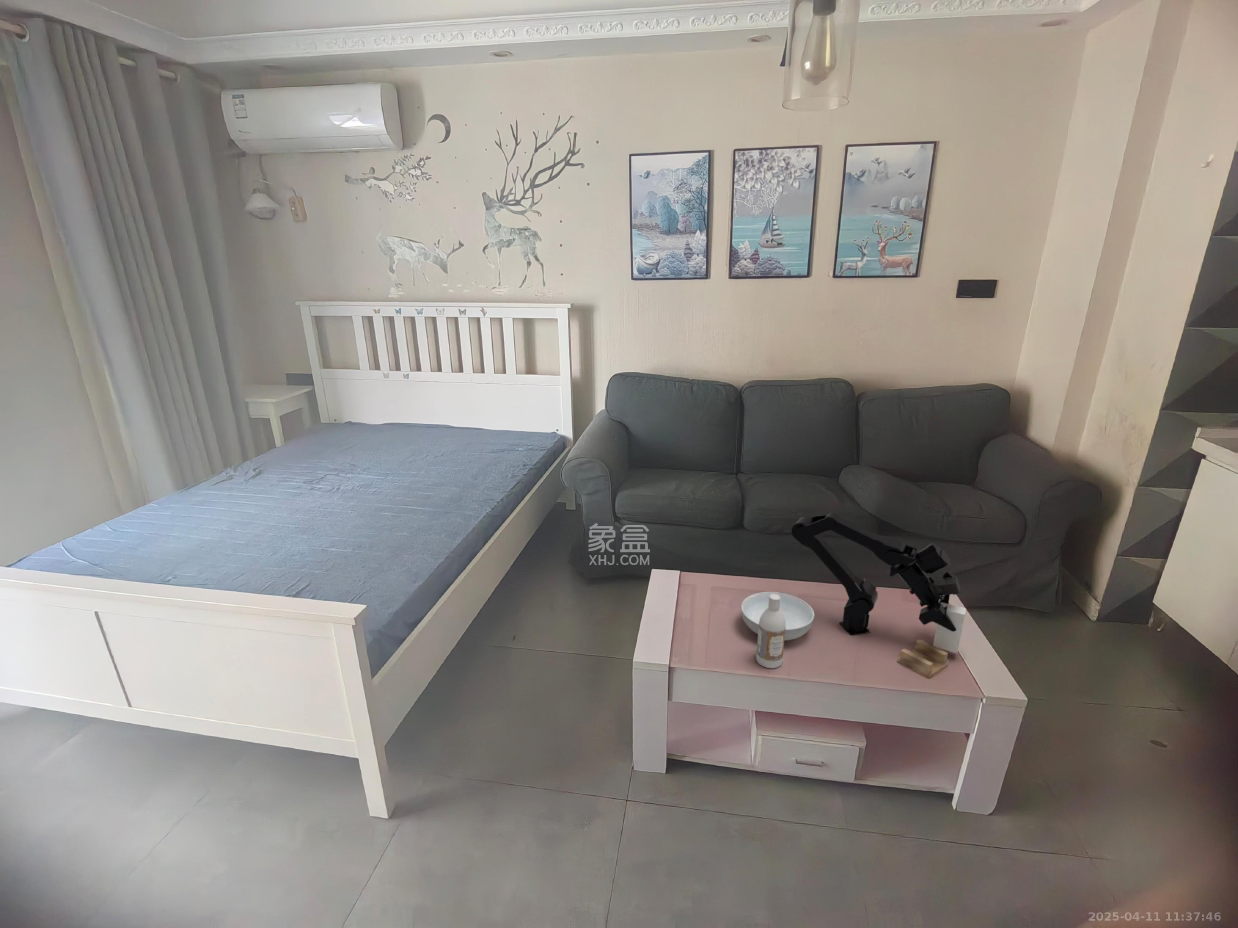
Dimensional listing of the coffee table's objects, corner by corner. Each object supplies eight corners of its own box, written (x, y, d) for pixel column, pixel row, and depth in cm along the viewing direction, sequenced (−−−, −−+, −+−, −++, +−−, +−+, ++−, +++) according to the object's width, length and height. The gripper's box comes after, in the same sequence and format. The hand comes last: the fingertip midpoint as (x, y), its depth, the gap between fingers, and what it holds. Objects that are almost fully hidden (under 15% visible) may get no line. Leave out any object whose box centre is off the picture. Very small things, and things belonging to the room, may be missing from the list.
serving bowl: (740, 607, 194) (741, 588, 192) (809, 614, 190) (811, 595, 188) (739, 645, 175) (740, 624, 173) (815, 654, 171) (817, 632, 169)
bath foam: (763, 670, 163) (768, 604, 157) (751, 655, 170) (756, 591, 164) (786, 667, 165) (793, 601, 159) (774, 652, 171) (780, 588, 165)
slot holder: (897, 661, 167) (899, 649, 166) (915, 649, 172) (917, 638, 171) (929, 678, 160) (931, 666, 159) (947, 665, 165) (949, 653, 164)
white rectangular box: (932, 646, 170) (939, 608, 166) (934, 639, 173) (941, 602, 169) (957, 653, 167) (964, 614, 163) (958, 646, 170) (965, 608, 166)
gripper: (939, 581, 157) (981, 631, 155) (946, 553, 172) (984, 599, 170) (902, 600, 164) (941, 648, 161) (912, 572, 179) (948, 616, 176)
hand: (955, 626), depth 167 cm, fingers closed on white rectangular box, 4 cm apart
